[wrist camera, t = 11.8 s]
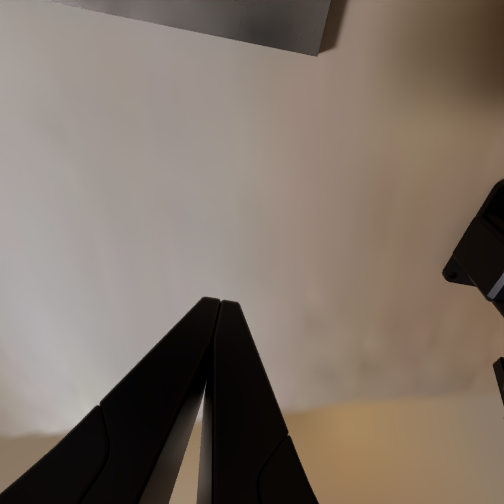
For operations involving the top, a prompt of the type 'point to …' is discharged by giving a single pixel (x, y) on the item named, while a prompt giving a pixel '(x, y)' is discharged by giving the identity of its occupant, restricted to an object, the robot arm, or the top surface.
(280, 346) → the top surface
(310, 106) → the top surface
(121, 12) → the barrel plate
